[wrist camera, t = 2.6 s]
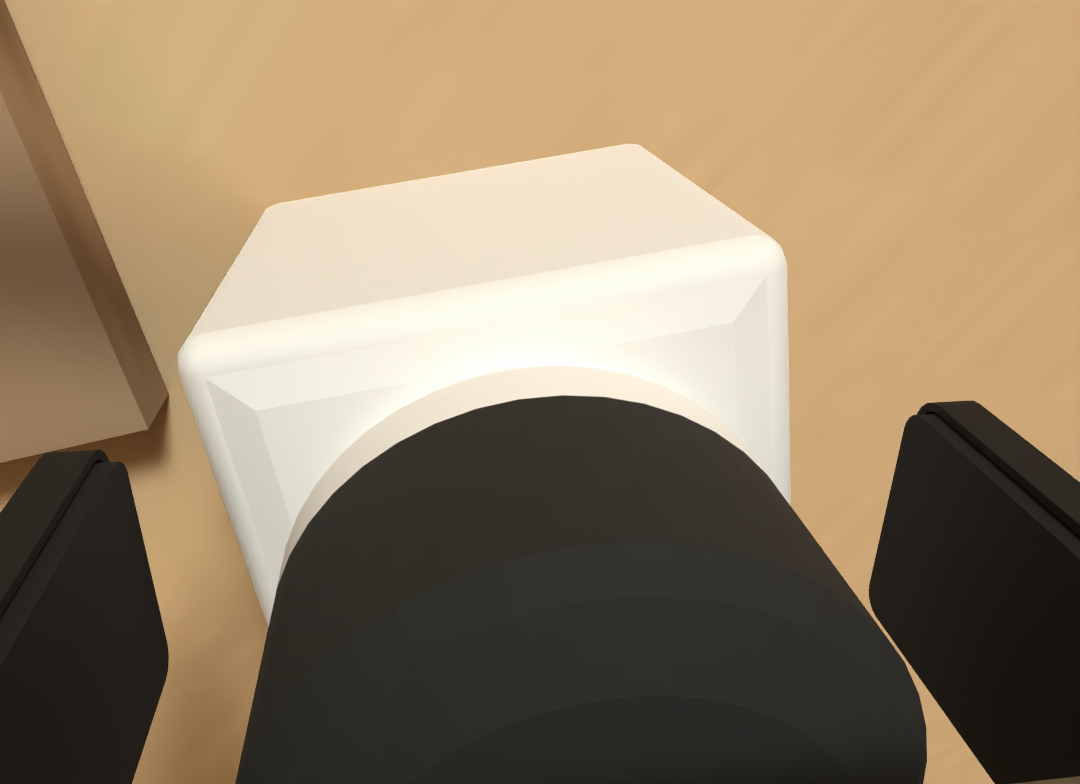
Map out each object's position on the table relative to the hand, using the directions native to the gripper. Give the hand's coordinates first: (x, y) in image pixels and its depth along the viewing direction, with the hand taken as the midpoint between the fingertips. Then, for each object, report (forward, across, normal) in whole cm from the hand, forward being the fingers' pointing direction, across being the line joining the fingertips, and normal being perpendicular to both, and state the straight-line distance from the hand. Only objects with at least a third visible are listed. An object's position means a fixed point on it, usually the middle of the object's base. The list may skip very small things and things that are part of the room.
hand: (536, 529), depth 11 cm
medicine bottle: (+8, 0, +1) cm, 8 cm away
